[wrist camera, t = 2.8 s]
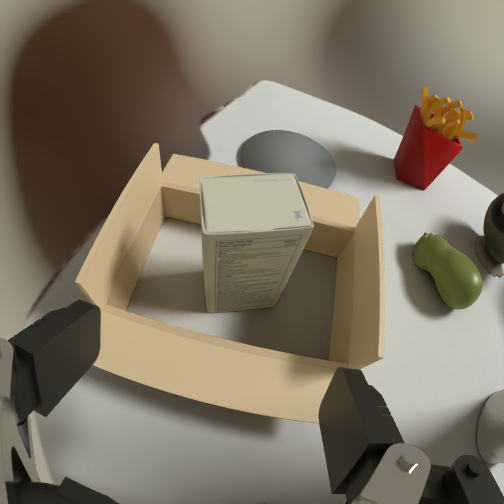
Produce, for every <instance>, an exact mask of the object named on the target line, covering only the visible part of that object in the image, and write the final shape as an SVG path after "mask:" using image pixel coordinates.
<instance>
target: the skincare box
mask: <svg viewBox="0 0 504 504" xmlns="http://www.w3.org/2000/svg"><path fill="white" fill-rule="evenodd" d="M200 210H201V234H202V254H203V273H204V286H205V297H206V306H207V311H208V312H209V313H217V312H230V311H241V310H250V309H259V308H266V307H273V306H276V304H277V302H278V300H279V298H280V296H281V294H282V292H283V290H284V288H285V286H286V284H287V282H288V280H289V278H290V276H291V274H292V272H293V270H294V267H295V266H296V264H297V261H298V259H299V257H300V255H301V253H302V251H303V249H304V247H305V245H306V242H307V240H308V238H309V236H310V234H311V232H312V230H313V228H314V224H313V221H312V218H311V215H310V212H309V208H308V205H307V203H306V200H305V197H304V194H303V191H302V189H301V186H300V184H299V181H298V179H297V176H296V174H293V173H265V174H240V175H239V174H238V175H222V176H207V177H201V178H200Z"/></svg>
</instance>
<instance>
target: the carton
mask: <svg viewBox="0 0 504 504" xmlns="http://www.w3.org/2000/svg"><path fill="white" fill-rule="evenodd" d="M238 174H239V175H240V174H265V173H264V172H259V171H255V170H251V169H246V168H242V167H237V166H233V165H228V164H223V163H218V162H213V161H208V160H203V159H198V158H193V157H187V156H182V155H176V154H173V156H172V157H171V159H170V161H169V162H168V164H167V166H166V167H165V169H164V171H163V173H162V171H161V163H160V154H159V144H156V143H154V144H153V146H152V147H151V149H150V150H149V152H148V153H147V155H146V156H145V158H144V159H143V161H142V162H141V164H140V165H139V167H138V168H137V170H136V171H135V173H134V175H133V176H132V178H131V179H130V181H129V183H128V184H127V186H126V187H125V189H124V191H123V192H122V194H121V196H120V198H119V199H118V201H117V202H116V204H115V206H114V208H113V209H112V211H111V213H110V214H109V216H108V218H107V220H106V222H105V223H104V225H103V227H102V229H101V231H100V233H99V234H98V236H97V238H96V240H95V242H94V244H93V246H92V248H91V250H90V252H89V254H88V256H87V258H86V260H85V262H84V264H83V266H82V268H81V270H80V272H79V274H78V276H77V279H76V281H75V283H76V284H77V285H78V287H79V288H80V289H81V290H82V292H83V293H84V294H85V295H86V297H87V298H88V299H89V300H90V301H91V303H92V304H94V305H97V306H99V307H100V310H101V337H100V352H99V355H98V358H97V360H96V361H95V363H94V364H93V366H95V367H98V368H100V369H103V370H105V371H108V372H111V373H113V374H116V375H118V376H121V377H124V378H127V379H129V380H132V381H135V382H138V383H141V384H144V385H147V386H150V387H153V388H156V389H159V390H162V391H165V392H169V393H172V394H175V395H179V396H182V397H186V398H189V399H193V400H197V401H201V402H205V403H209V404H213V405H217V406H221V407H225V408H230V409H234V410H239V411H244V412H249V413H254V414H259V415H265V416H270V417H276V418H282V419H289V420H296V421H303V422H311V423H319V419H318V414H319V408H320V404H321V402H322V399H323V397H324V395H325V393H326V391H327V389H328V386H329V384H330V382H331V380H332V377H333V375H334V373H335V371H336V369H337V368H338V367H344V368H351V369H361V368H363V367H365V366H368V365H370V364H372V363H374V362H376V361H378V360H380V359H382V358H384V340H385V269H384V248H383V232H382V220H381V209H380V199H379V196H376V195H375V196H374V198H373V199H372V201H371V202H370V204H369V206H368V207H367V209H366V211H365V212H364V214H363V215H362V217H361V219H360V217H359V198H357V197H354V196H350V195H347V194H343V193H340V192H336V191H333V190H329V189H326V188H322V187H319V186H315V185H311V184H307V183H304V182H300V181H299V184H300V186H301V189H302V191H303V194H304V197H305V200H306V203H307V205H308V208H309V212H310V215H311V218H312V221H313V224H314V228H313V230H312V232H311V234H310V236H309V238H308V240H307V242H306V245H305V247H304V249H305V250H309V251H313V252H317V253H321V254H325V255H329V256H333V257H337V268H336V283H335V296H334V308H333V319H332V329H331V339H330V348H329V356H328V360H322V359H316V358H311V357H305V356H300V355H295V354H290V353H285V352H280V351H275V350H270V349H265V348H261V347H256V346H252V345H247V344H243V343H239V342H234V341H230V340H226V339H222V338H218V337H214V336H210V335H206V334H202V333H199V332H195V331H191V330H188V329H184V328H180V327H177V326H173V325H170V324H166V323H163V322H160V321H156V320H153V319H150V318H146V317H143V316H140V315H137V314H134V313H131V312H127V311H126V310H127V307H128V304H129V302H130V299H131V297H132V294H133V291H134V289H135V286H136V284H137V281H138V279H139V277H140V274H141V272H142V269H143V267H144V264H145V262H146V260H147V257H148V255H149V253H150V250H151V248H152V246H153V244H154V241H155V239H156V237H157V235H158V232H159V230H160V228H161V226H162V224H163V221H164V219H165V217H170V218H175V219H179V220H183V221H188V222H192V223H196V224H201V210H200V178H201V177H207V176H222V175H238Z"/></svg>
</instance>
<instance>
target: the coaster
mask: <svg viewBox="0 0 504 504" xmlns="http://www.w3.org/2000/svg"><path fill="white" fill-rule="evenodd" d="M242 163H243V166H244V168H246V169H251V170H255V171H259V172H264V173H293V174H296V176H297V179H298V181H300V182H304V183H307V184H311V185H315V186H319V187H322V188H326V189H327V188H328V187H329V186H330V185H331V183H332V181H333V179H334V177H335V172H336V168H335V163H334V161H333V159H332V157H331V155H330V154H329V153H328V151H327V150H326V149H325V148H324V147H323V146H321V145H320V144H319V143H317V142H316V141H314V140H312V139H311V138H309V137H306V136H304V135H301V134H299V133H295V132H290V131H284V130H271V131H265V132H261V133H258V134H256V135H254V136H252V137H251V138H250V139H249V140H248V141H247V142H246V143H245V144H244V147H243V150H242Z"/></svg>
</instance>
